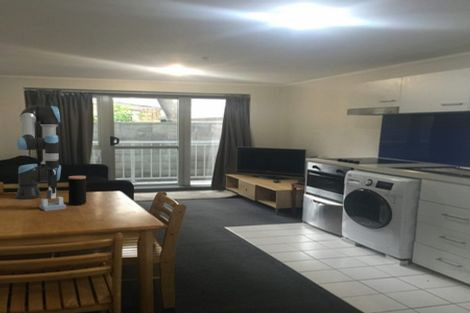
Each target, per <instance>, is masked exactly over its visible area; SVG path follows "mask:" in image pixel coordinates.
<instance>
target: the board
mask: <svg viewBox="0 0 470 313" xmlns="http://www.w3.org/2000/svg"><path fill="white" fill-rule="evenodd" d="M40 199H41V203H39V204H38V208H40V209H41V210H43V211H45V212H46V211H57V210H58V211H59V210H64V209H67V205H66V204H65V203H64V197H63V196H57V199H56V201H54V202H49V199H47V197H45V198H44V197H43V198H41V197H40Z"/></svg>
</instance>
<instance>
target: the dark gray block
mask: <svg viewBox="0 0 470 313" xmlns="http://www.w3.org/2000/svg"><path fill="white" fill-rule="evenodd" d="M57 197H58V190H57V189H56V198H53V199H51V190H49V189H47V190H46V199H48V200H55V199H56V200H57Z"/></svg>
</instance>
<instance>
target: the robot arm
mask: <svg viewBox="0 0 470 313" xmlns="http://www.w3.org/2000/svg"><path fill="white" fill-rule="evenodd" d="M19 121H20V122H21V133H20V135H21V137H18V138H17V149H18V150H20V151H21V150H22V151H35V150H37V151H42V161H41V162H40V165H38V164H37V163H31V164H30V163H29V164H24V165H20V166H18V172H17V174H18V189H17V192H16V194H15V199H17V200H33V199H39V198H41V195H42V194H41V192H40V188H39V186H38V185H39V183H47V186H48V190H51V199H50V200H54V199H53V198H56V190H57V188H58V181H60V179H61V172H62V171H61V170H62V165H60V163H59V162H60V161H59V160H60V157H59V155H60V154H59V142H60V140H59V136H58V135H57V127H58V126H59V124H60V123H61V115H60V111H59V108H58V107H57V106H54V105H30V106H28V107H26V108H25V109H23V110H22V111H21V113H20V115H19ZM36 123H39V125H40V126H41V127H42V137H35V136H36V133H35V128H36V127H35V126H36V125H35V124H36Z"/></svg>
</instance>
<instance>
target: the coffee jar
mask: <svg viewBox="0 0 470 313" xmlns="http://www.w3.org/2000/svg"><path fill="white" fill-rule="evenodd" d="M86 178H87V175H71V176H68V204H69V205H70V206H83V205H86V203H87V179H86Z"/></svg>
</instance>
